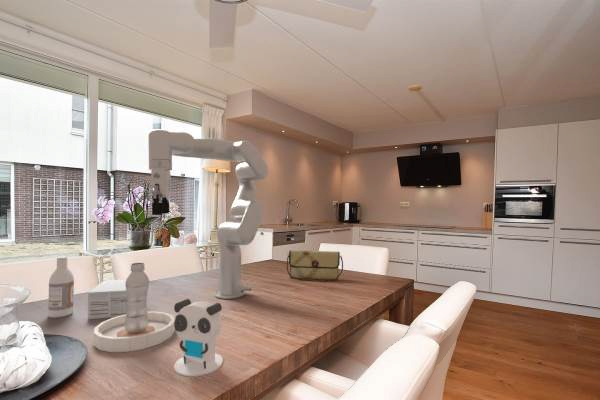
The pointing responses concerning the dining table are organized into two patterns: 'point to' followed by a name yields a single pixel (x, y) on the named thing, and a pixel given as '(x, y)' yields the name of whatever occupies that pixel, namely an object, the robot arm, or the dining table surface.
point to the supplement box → (107, 299)
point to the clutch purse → (314, 265)
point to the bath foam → (61, 290)
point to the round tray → (119, 340)
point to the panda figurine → (197, 337)
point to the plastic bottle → (136, 299)
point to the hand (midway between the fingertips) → (161, 214)
